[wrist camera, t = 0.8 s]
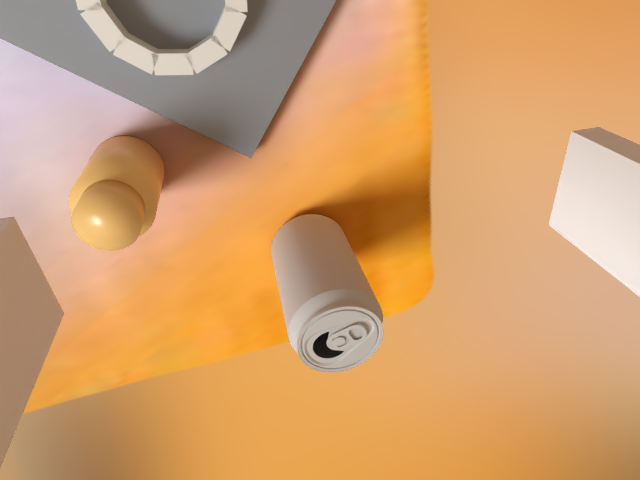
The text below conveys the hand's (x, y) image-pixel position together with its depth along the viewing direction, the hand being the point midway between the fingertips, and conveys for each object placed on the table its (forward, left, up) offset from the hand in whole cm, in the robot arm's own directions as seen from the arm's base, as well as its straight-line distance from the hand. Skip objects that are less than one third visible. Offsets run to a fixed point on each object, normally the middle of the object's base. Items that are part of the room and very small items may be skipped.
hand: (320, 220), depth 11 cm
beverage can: (+11, -11, -23) cm, 27 cm away
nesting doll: (-4, -11, -22) cm, 25 cm away
